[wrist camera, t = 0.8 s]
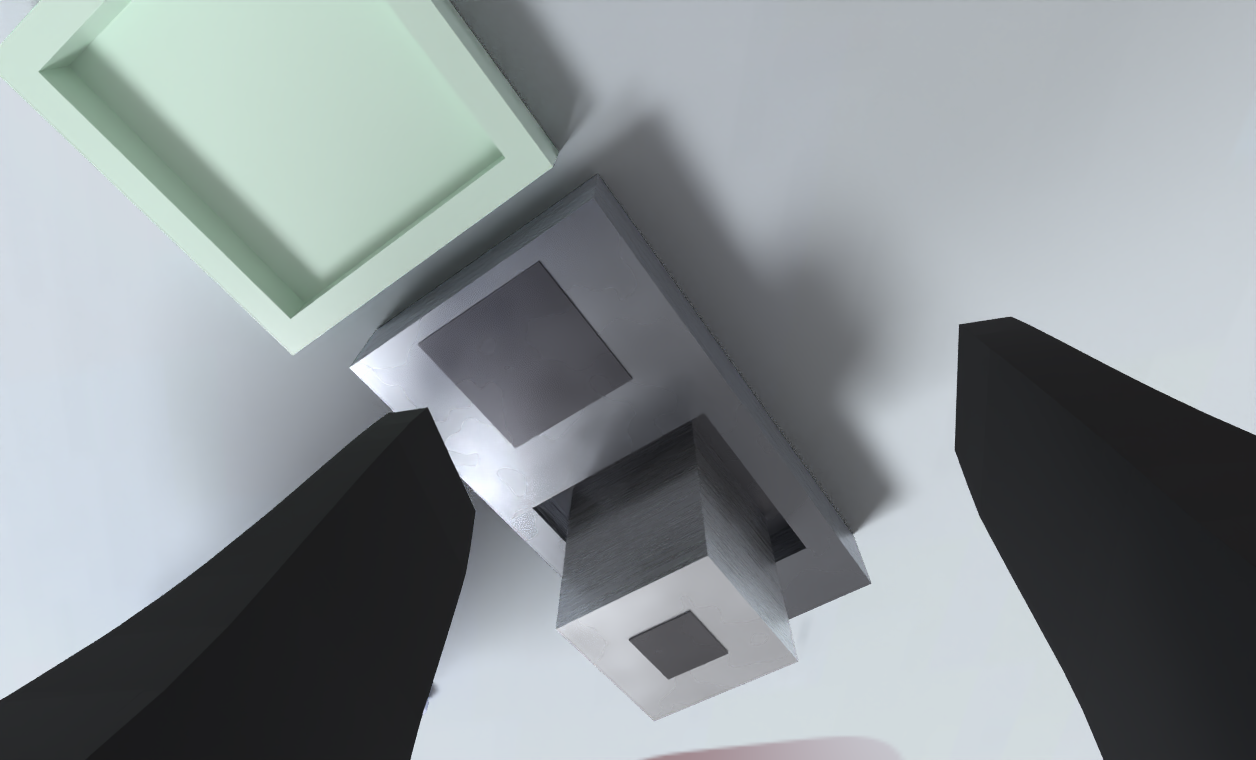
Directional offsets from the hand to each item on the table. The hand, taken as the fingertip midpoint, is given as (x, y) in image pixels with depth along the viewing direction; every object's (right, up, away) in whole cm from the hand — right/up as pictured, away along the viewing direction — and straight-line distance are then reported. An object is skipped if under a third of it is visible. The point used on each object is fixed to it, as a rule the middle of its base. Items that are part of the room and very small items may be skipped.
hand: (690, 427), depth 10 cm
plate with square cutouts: (-1, -1, +13) cm, 13 cm away
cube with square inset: (+1, -3, +13) cm, 13 cm away
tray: (-9, +8, +8) cm, 14 cm away
